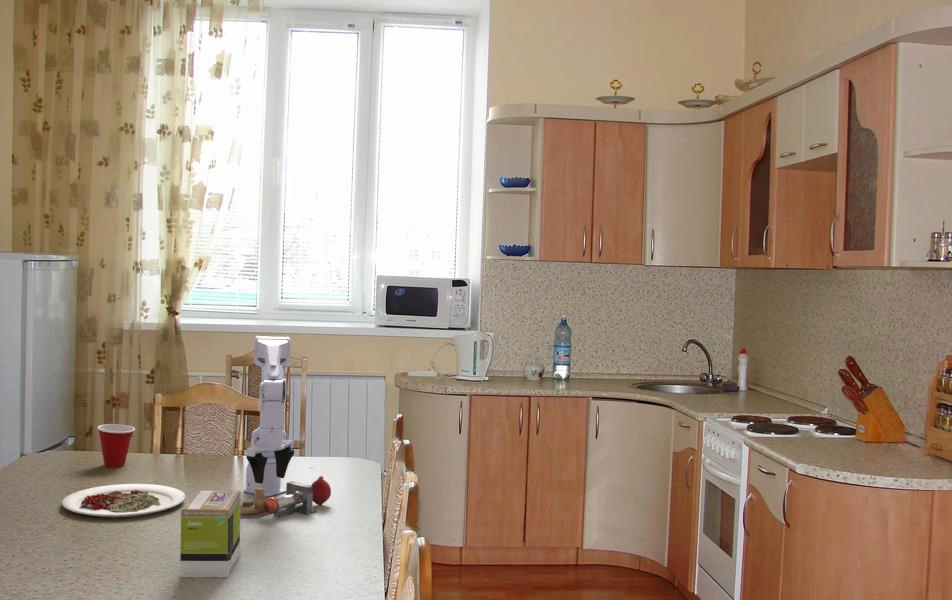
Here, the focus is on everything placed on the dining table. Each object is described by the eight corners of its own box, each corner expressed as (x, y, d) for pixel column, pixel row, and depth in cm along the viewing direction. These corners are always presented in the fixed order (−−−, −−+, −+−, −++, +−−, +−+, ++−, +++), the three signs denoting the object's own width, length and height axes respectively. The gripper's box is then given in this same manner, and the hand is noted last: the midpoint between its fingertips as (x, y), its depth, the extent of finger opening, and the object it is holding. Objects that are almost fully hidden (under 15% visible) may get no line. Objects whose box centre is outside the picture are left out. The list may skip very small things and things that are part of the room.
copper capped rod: (263, 512, 232) (263, 496, 232) (299, 502, 243) (300, 486, 243) (274, 515, 229) (275, 499, 229) (311, 505, 241) (312, 489, 240)
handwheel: (219, 509, 235) (220, 486, 235) (248, 502, 243) (249, 479, 243) (247, 517, 229) (248, 493, 229) (276, 509, 238) (277, 486, 238)
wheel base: (213, 511, 235) (213, 510, 235) (248, 502, 245) (248, 501, 245) (246, 520, 228) (246, 519, 228) (280, 510, 238) (281, 509, 238)
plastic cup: (125, 470, 273) (127, 430, 273) (90, 468, 273) (91, 429, 273) (139, 462, 284) (140, 424, 284) (105, 460, 284) (106, 422, 284)
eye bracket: (264, 513, 235) (265, 487, 235) (291, 505, 244) (292, 480, 243) (289, 520, 230) (290, 493, 230) (316, 512, 239) (317, 486, 238)
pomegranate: (325, 509, 242) (326, 479, 241) (305, 507, 243) (306, 477, 242) (333, 503, 247) (334, 474, 247) (313, 501, 248) (314, 472, 248)
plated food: (206, 508, 239) (207, 495, 239) (93, 529, 217) (94, 515, 217) (151, 485, 259) (151, 473, 259) (42, 502, 237) (42, 489, 237)
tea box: (194, 554, 202) (196, 488, 201) (240, 555, 203) (243, 489, 202) (178, 578, 187) (180, 507, 186) (228, 579, 188) (230, 508, 187)
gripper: (262, 433, 223) (260, 488, 223) (303, 425, 235) (301, 477, 236) (241, 429, 227) (239, 483, 227) (283, 421, 239) (281, 473, 239)
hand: (269, 480), depth 232 cm, fingers open, 7 cm apart
